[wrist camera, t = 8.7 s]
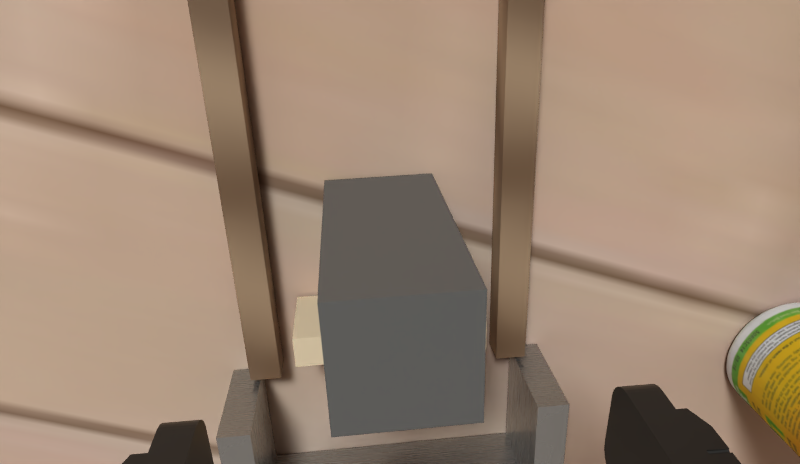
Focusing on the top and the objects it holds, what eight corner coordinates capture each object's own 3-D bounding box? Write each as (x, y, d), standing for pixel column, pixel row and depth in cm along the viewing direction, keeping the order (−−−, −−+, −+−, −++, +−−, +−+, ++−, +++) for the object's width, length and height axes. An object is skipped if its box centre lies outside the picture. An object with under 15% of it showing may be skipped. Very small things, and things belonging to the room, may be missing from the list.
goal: (233, 370, 25) (216, 437, 21) (536, 344, 26) (569, 404, 22) (252, 478, 27) (240, 555, 24) (529, 450, 28) (558, 520, 25)
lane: (177, -114, 18) (167, -120, 17) (539, -125, 19) (551, -131, 18) (254, 362, 25) (250, 380, 24) (516, 339, 26) (524, 356, 25)
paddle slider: (283, 183, 22) (251, 308, 14) (471, 171, 23) (549, 284, 14) (300, 322, 24) (281, 500, 16) (469, 308, 25) (535, 473, 17)
